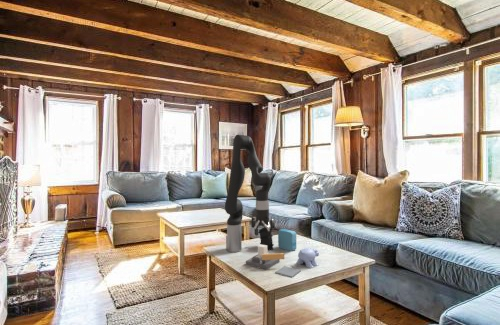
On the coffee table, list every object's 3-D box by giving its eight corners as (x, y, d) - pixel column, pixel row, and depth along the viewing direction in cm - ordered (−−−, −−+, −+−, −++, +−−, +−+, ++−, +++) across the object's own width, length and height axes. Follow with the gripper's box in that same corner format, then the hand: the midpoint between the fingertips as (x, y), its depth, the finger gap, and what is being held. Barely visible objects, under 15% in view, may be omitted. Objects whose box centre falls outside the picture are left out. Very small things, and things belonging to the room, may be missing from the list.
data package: (296, 249, 189) (296, 231, 189) (292, 251, 186) (292, 232, 186) (282, 245, 198) (282, 228, 197) (278, 247, 195) (277, 229, 194)
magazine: (271, 249, 185) (265, 226, 190) (261, 252, 196) (256, 230, 201) (276, 248, 187) (270, 225, 192) (266, 252, 197) (261, 230, 203)
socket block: (245, 264, 165) (245, 257, 164) (259, 257, 176) (259, 250, 176) (266, 269, 156) (266, 262, 156) (279, 262, 168) (279, 255, 168)
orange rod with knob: (259, 259, 160) (259, 254, 160) (283, 258, 162) (283, 252, 162) (259, 260, 159) (259, 255, 159) (284, 259, 160) (284, 253, 160)
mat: (275, 273, 152) (275, 271, 152) (284, 267, 160) (284, 265, 160) (292, 277, 146) (292, 276, 146) (301, 271, 154) (301, 269, 154)
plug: (255, 260, 165) (255, 246, 165) (261, 257, 170) (261, 243, 170) (264, 262, 162) (264, 248, 162) (269, 259, 167) (269, 245, 167)
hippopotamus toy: (324, 263, 165) (324, 246, 165) (307, 270, 156) (307, 252, 156) (309, 258, 174) (309, 242, 174) (292, 264, 164) (292, 247, 164)
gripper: (248, 208, 167) (249, 236, 167) (269, 210, 158) (270, 239, 159) (255, 206, 173) (256, 233, 173) (276, 208, 164) (277, 236, 165)
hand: (263, 236), depth 166 cm, fingers open, 8 cm apart
